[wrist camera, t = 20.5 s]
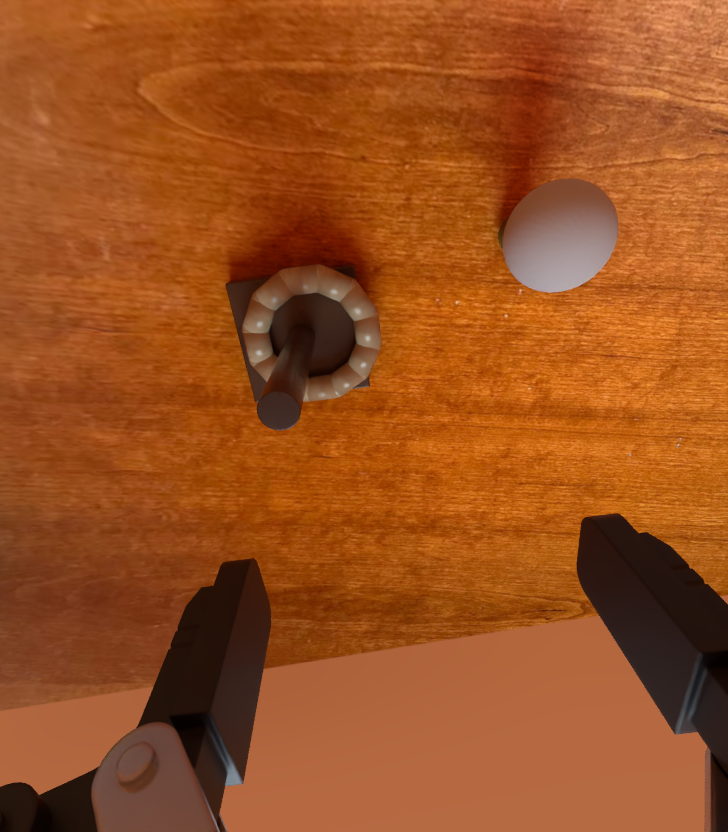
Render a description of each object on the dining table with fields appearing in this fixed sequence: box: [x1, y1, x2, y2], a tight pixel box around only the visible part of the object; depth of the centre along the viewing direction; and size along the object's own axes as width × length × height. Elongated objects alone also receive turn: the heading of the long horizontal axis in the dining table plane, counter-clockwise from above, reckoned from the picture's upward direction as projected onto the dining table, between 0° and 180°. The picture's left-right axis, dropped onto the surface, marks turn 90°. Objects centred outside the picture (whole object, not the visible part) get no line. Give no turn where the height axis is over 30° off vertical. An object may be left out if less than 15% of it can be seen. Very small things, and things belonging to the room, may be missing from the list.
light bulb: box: [498, 178, 618, 292], centre depth 26 cm, size 6×6×10 cm
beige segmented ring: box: [242, 264, 381, 402], centre depth 31 cm, size 10×10×2 cm
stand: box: [226, 264, 370, 430], centre depth 26 cm, size 9×9×14 cm
